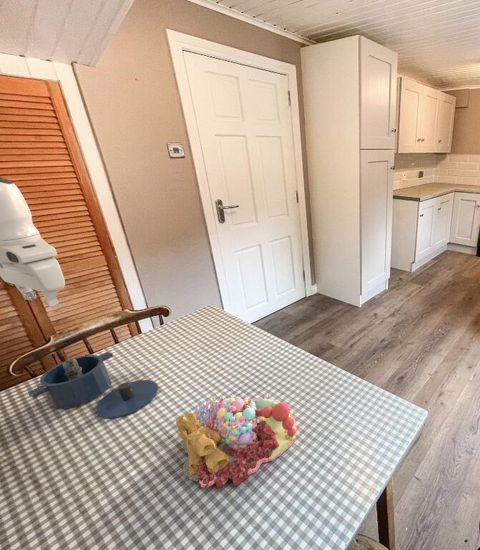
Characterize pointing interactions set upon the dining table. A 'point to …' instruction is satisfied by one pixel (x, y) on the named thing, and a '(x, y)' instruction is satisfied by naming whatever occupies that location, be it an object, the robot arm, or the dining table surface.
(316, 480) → the dining table surface
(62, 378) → the pot
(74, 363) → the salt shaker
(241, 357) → the dining table surface
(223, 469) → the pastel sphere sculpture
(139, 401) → the pot lid
